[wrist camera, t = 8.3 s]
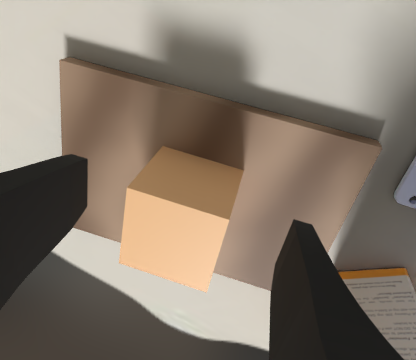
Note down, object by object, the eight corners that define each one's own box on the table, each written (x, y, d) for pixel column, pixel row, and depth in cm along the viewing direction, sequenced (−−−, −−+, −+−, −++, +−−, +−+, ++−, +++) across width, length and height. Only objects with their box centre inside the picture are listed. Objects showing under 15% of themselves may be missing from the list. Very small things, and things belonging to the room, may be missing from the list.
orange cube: (243, 170, 20) (229, 220, 15) (223, 234, 22) (206, 292, 18) (162, 145, 20) (126, 187, 16) (152, 212, 23) (119, 262, 18)
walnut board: (378, 140, 18) (382, 148, 17) (302, 290, 24) (302, 301, 23) (69, 56, 20) (59, 59, 19) (71, 216, 26) (64, 224, 25)
